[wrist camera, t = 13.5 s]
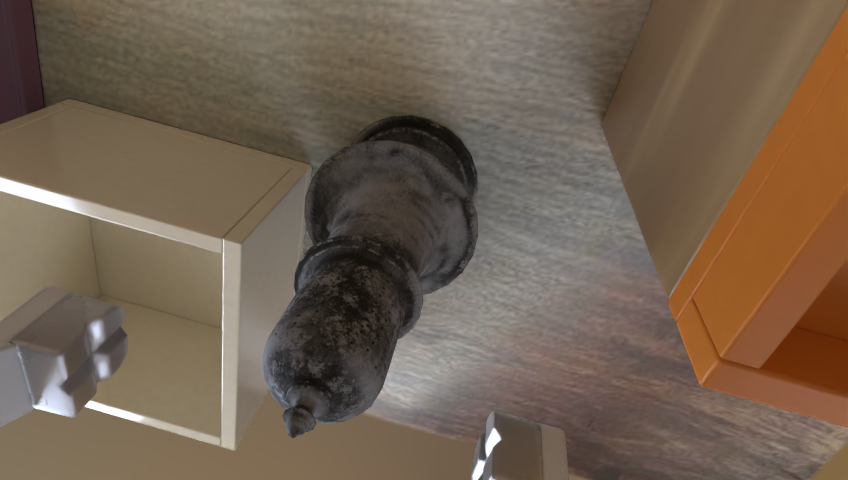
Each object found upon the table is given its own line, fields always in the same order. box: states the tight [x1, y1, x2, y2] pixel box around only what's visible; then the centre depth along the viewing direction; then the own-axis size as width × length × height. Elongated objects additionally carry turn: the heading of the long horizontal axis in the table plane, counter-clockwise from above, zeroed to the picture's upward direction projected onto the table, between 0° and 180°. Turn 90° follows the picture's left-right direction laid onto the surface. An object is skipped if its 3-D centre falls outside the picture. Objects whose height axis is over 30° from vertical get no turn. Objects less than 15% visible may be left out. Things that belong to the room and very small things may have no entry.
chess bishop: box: [261, 116, 478, 438], centre depth 15 cm, size 6×6×12 cm
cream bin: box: [0, 99, 312, 450], centre depth 21 cm, size 10×10×6 cm
